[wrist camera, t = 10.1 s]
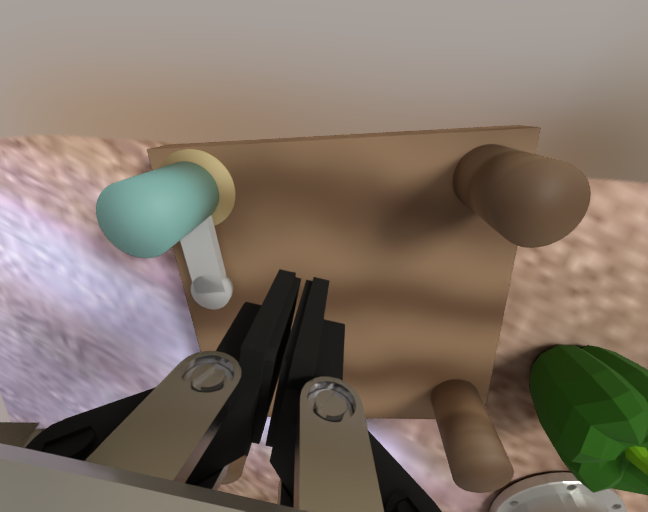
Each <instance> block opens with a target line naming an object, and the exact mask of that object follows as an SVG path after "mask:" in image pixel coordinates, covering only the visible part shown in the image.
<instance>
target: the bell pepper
mask: <svg viewBox="0 0 648 512" xmlns="http://www.w3.org/2000/svg"><path fill="white" fill-rule="evenodd" d="M529 388H530V392H531V396H532V400H533V403H534V406H535V409H536V412H537V415H538V418H539V421H540V424H541V425H542V427H543V429H544V431H545V432H546V434H547V436H548V437H549V439H550V441H551V443H552V444H553V446H554V447H555V449H556V451H557V452H558V454H559V456H560V458H561V459H562V461H563V462H564V463H565V465H566V466H567V467H568V468H569V470H570V471H571V472H572V474H573V475H574V476H575V477H576V479H577V480H578V481H580V482H581V483H582V484H583V485H584V486H586V487H587V488H588V489H589V490H590V491H592V492H593V493H595V492H598V491H602V490H606V489H610V488H613V489H618V490H623V491H629V492H634V493H639V494H644V495H648V370H647V369H645V368H644V367H642V366H640V365H638V364H637V363H635V362H633V361H631V360H629V359H627V358H625V357H623V356H621V355H619V354H618V353H616V352H613V351H610V350H606V349H603V348H600V347H595V346H589V345H587V346H585V347H583V348H579V347H577V346H573V345H557V346H555V347H553V348H551V349H549V350H547V351H545V352H543V353H541V354H540V355H539V357H538V358H537V360H536V361H535V362H534V364H533V365H532V366H531V375H530V383H529Z"/></svg>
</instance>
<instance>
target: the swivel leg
mask: <svg viewBox="0 0 648 512" xmlns="http://www.w3.org/2000/svg"><path fill="white" fill-rule="evenodd" d="M218 203H219V189H218V186H217V184H216V181H215V180H214V178H213V177H212V175H211V174H210V173H209V172H208V171H207V170H206V169H205V168H203V167H202V166H200V165H198V164H196V163H193V162H188V161H180V162H176V163H173V164H170V165H167V166H164V167H161V168H158V169H155V170H152V171H149V172H146V173H143V174H140V175H137V176H134V177H131V178H128V179H125V180H122V181H119V182H116V183H113V184H111V185H109V186H108V187H106V188H105V189H104V190H103V191H102V192H101V194H100V195H99V198H98V200H97V204H96V215H97V220H98V223H99V225H100V228H101V230H102V231H103V233H104V234H105V236H106V237H107V238H108V240H109V241H110V242H111V243H112V244H113V245H115V246H116V247H117V248H119V249H120V250H122V251H123V252H125V253H127V254H129V255H132V256H135V257H140V258H152V257H157V256H159V255H162V254H163V253H165V252H166V251H167V250H169V249H170V248H171V247H172V246H174V245H175V244H176V243H177V242H179V241H180V242H181V245H182V249H183V252H184V256H185V259H186V262H187V266H188V269H189V273H190V276H191V279H192V284H191V294H192V297H193V298H194V300H195V301H196V302H197V303H198V304H199V305H201V306H202V307H205V308H207V309H220V308H222V307H224V306H225V305H226V304H227V303H228V301H229V300H230V298H231V296H232V294H233V291H234V288H233V283H232V281H231V280H230V278H229V277H228V276H227V275H226V272H225V268H224V264H223V260H222V256H221V252H220V247H219V243H218V239H217V235H216V231H215V227H214V223H213V219H212V214H213V213H214V212H215V210H216V209H217V206H218Z"/></svg>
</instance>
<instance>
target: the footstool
mask: <svg viewBox="0 0 648 512" xmlns="http://www.w3.org/2000/svg"><path fill="white" fill-rule="evenodd" d="M540 129H541V128H539V127H531V126H522V125H511V126H493V127H476V128H458V129H440V130H422V131H404V132H386V133H368V134H351V135H334V136H315V137H298V138H281V139H280V138H279V139H263V140H262V139H261V140H244V141H226V142H208V143H190V144H172V145H164V146H160V147H155V148H151V149H147V152H148V156H149V160H150V164H151V167H152V170H155V169H158V168H161V167H164V166H167V165H170V164H173V163H176V162H180V161H188V162H193V163H196V164H198V165H200V166H202V167H203V168H205V169H206V170H207V171H208V172H209V173H210V174H211V175H212V177H213V178H214V180H215V181H216V184H217V186H218V189H219V203H218V206H217V209H216V210H215V212H214V213H213V214H212V219H213V223H214V227H215V231H216V235H217V239H218V243H219V247H220V252H221V256H222V260H223V264H224V268H225V272H226V275H227V276H228V277H229V278H230V280H231V281H232V283H233V288H234V291H233V294H232V296H231V298H230V300H229V301H228V303H227V304H226V305H225V306H224V307H222V308H220V309H207V308H205V307H202V306H201V305H199V304H198V303H197V302H196V301H195V300H194V298H193V297H192V294H191V284H192V279H191V276H190V273H189V269H188V266H187V262H186V259H185V256H184V252H183V249H182V245H181V242H180V241H179V242H177V243H176V244H175V245H174V246H173V250H174V253H175V257H176V261H177V265H178V268H179V272H180V276H181V280H182V283H183V287H184V291H185V295H186V298H187V302H188V306H189V310H190V313H191V317H192V321H193V325H194V328H195V332H196V336H197V340H198V343H199V347H200V351H201V352H203V351H216V349H217V348H218V346H219V344H220V343H221V341H222V339H223V338H224V336H225V334H226V333H227V331H228V329H229V328H230V326H231V324H232V322H233V321H234V319H235V317H236V316H237V314H238V312H239V311H240V309H241V307H242V306H243V304H244V303H245V302H250V303H255V304H259V305H262V303H263V301H264V299H265V297H266V295H267V293H268V291H269V289H270V287H271V285H272V283H273V281H274V279H275V277H276V275H277V273H278V271H279V269H282V270H286V271H290V272H295V273H296V277H297V278H301V283H300V288H299V293H298V298H297V303H296V308H295V313H294V317H293V322H294V319H295V316H296V312H297V309H298V306H299V302H300V299H301V296H302V292H303V289H304V286H305V282H306V280H311V281H313V277H317V278H321V279H326V280H330V282H329V288H328V295H327V301H326V308H325V314H324V319H325V320H330V321H334V322H339V323H343V324H345V341H344V363H343V381H344V382H346V383H348V384H349V385H350V386H351V387H353V388H354V389H355V391H356V392H357V393H358V395H359V396H360V399H361V401H362V404H363V409H364V414H365V418H396V419H436V421H437V424H438V428H439V431H440V435H441V438H442V442H443V445H444V449H445V453H446V456H447V460H448V463H449V467H450V470H451V474H452V477H453V480H454V482H455V484H456V485H457V486H459V487H460V488H462V489H464V490H466V491H470V492H476V493H485V492H491V491H495V490H498V489H500V488H502V487H504V486H505V485H507V484H508V483H509V482H510V481H511V479H512V477H513V474H514V471H513V467H512V465H511V463H510V461H509V459H508V456H507V454H506V452H505V450H504V448H503V445H502V443H501V441H500V439H499V437H498V435H497V432H496V430H495V428H494V426H493V424H492V421H491V419H490V417H489V415H488V413H487V410H486V408H485V406H486V401H487V396H488V391H489V386H490V381H491V376H492V371H493V366H494V361H495V356H496V351H497V346H498V341H499V336H500V331H501V326H502V320H503V315H504V310H505V305H506V300H507V295H508V290H509V285H510V280H511V275H512V270H513V265H514V260H515V255H516V250H517V245H518V246H521V247H530V248H534V247H542V246H546V245H549V244H552V243H554V242H557V241H558V240H560V239H562V238H564V237H565V236H567V235H568V234H569V233H570V232H572V231H573V230H574V229H575V228H576V227H577V225H578V224H579V223H580V222H581V220H582V219H583V217H584V216H585V214H586V211H587V209H588V206H589V202H590V194H591V193H590V186H589V182H588V180H587V178H586V176H585V175H584V173H583V172H582V171H581V170H580V169H578V168H577V167H575V166H574V165H572V164H569V163H566V162H563V161H559V160H555V159H552V158H548V157H544V156H540V155H536V149H537V144H538V139H539V133H540ZM293 322H292V326H293ZM291 329H292V327H291ZM278 380H279V378H278ZM277 385H278V382H277ZM277 385H276V389H275V392H274V396H273V399H272V402H271V406H270V409H269V413H268V416H267V417H271V415H272V410H273V405H274V400H275V395H276V390H277ZM246 457H247V456H245V455H244V456H243V457H241V458H239V459H237V460H236V461H234V462H232V463H230V464H229V467H228V470H227V473H226V475H225V477H224V479H223V481H222V483H221V484H230V483H233V482H235V481H237V480H238V479H239V478H240V477H241V475H242V471H243V468H244V464H245V461H246Z"/></svg>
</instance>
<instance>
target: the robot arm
mask: <svg viewBox="0 0 648 512" xmlns="http://www.w3.org/2000/svg"><path fill="white" fill-rule="evenodd" d="M329 282H330V280H326V279H321V278H317V277H313V281H311V280H306V282H305V286H304V289H303V292H302V296H301V299H300V302H299V306H298V309H297V312H296V316H295V319H294V322H293V317H294V313H295V308H296V303H297V298H298V293H299V288H300V283H301V278H297V277H296V273H295V272H290V271H286V270H282V269H279V271H278V273H277V275H276V277H275V279H274V281H273V283H272V285H271V287H270V289H269V291H268V293H267V295H266V297H265V299H264V301H263V303H262V305H259V304H255V303H250V302H245V303H244V304H243V306H242V307H241V309H240V311H239V312H238V314H237V316H236V317H235V319H234V321H233V322H232V324H231V326H230V328H229V329H228V331H227V333H226V334H225V336H224V338H223V339H222V341H221V343H220V344H219V346H218V348H217V349H216V351H203V352H199V353H195V354H193V355H191V356H188V357H187V358H185V359H184V360H183V361H182V362H180V363H179V364H178V365H177V366H176V367H175V368H174V369H173V370H172V371H171V373H170V374H169V375H168V376H167V377H166V378H165V379H164V380H163V381H162V382H161V383H160V384H159V385H158V386H157V387H155V388H153V389H150V390H147V391H144V392H141V393H138V394H135V395H132V396H130V397H127V398H124V399H121V400H118V401H115V402H112V403H109V404H107V405H104V406H101V407H98V408H95V409H92V410H89V411H86V412H84V413H81V414H78V415H75V416H72V417H69V418H66V419H64V420H62V421H59V422H57V423H55V424H53V425H51V426H49V427H48V428H46V429H41V427H40V423H11V422H9V423H8V422H5V423H4V422H2V423H1V422H0V512H442V511H441V510H440V509H439V507H438V506H437V505H436V503H435V502H434V501H433V500H432V499H431V498H430V497H429V496H428V495H427V493H426V492H425V491H424V490H423V489H422V488H421V487H420V486H419V485H418V484H417V483H416V482H415V480H414V479H413V478H412V477H411V476H410V475H409V474H408V473H407V472H406V471H405V470H404V469H403V468H402V466H401V465H400V464H399V463H398V462H397V461H396V460H395V459H394V458H393V457H392V456H391V455H390V453H389V452H388V451H387V450H386V449H385V448H384V447H383V446H382V445H381V444H380V443H379V442H378V441H377V439H376V438H375V437H374V436H373V435H372V434H371V433H370V432H369V431H368V429H367V424H366V419H365V414H364V409H363V404H362V401H361V399H360V396H359V395H358V393H357V392H356V391H355V389H354V388H353V387H351V386H350V385H349V384H348V383H346V382H344V381H343V363H344V341H345V324H343V323H339V322H334V321H330V320H325V319H324V314H325V308H326V301H327V295H328V288H329ZM292 322H293V326H292ZM291 327H292V329H291ZM278 378H279V380H278ZM277 382H278V385H277ZM276 385H277V390H276V395H275V400H274V405H273V410H272V415H271V420H270V425H269V430H268V435H267V440H266V446H270V447H273V448H272V453H271V458H270V463H271V464H272V466H273V468H274V469H275V471H276V472H277V474H278V475H279V477H280V482H279V487H278V502H277V504H274V503H269V502H265V501H261V500H256V499H252V498H247V497H243V496H239V495H234V494H230V493H225V492H221V491H218V489H219V487H220V485H221V483H222V481H223V479H224V477H225V475H226V473H227V470H228V467H229V464H230V463H232V462H234V461H236V460H237V459H239V458H241V457H243V456H244V455H245V456H248V453H249V450H250V447H251V444H252V442H253V443H257V444H259V443H260V440H261V437H262V433H263V430H264V426H265V423H266V420H267V416H268V413H269V409H270V406H271V402H272V399H273V396H274V392H275V389H276ZM490 512H626V507H625V504H624V502H623V500H622V499H621V497H620V496H619V494H618V493H617V492H616V490H615V489H613V488H610V489H606V490H602V491H598V492H595V493H593V492H592V491H590V490H589V489H588V488H587V487H586V486H584V485H583V484H582V483H581V482H580V481H578V480H577V479H576V477H575V476H574V475H573V474H572V473H568V472H559V473H548V474H542V475H537V476H533V477H530V478H526V479H524V480H521V481H519V482H517V483H515V484H513V485H511V486H510V487H508V488H506V489H505V490H504V491H503V492H501V493H500V494H499V495H498V496H497V498H496V499H495V500H494V502H493V503H492V506H491V508H490Z"/></svg>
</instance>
